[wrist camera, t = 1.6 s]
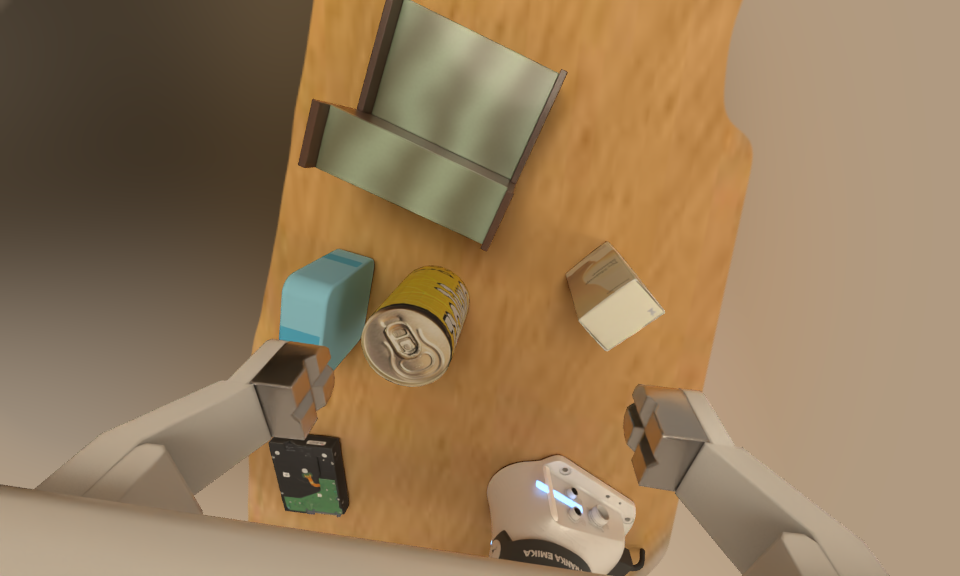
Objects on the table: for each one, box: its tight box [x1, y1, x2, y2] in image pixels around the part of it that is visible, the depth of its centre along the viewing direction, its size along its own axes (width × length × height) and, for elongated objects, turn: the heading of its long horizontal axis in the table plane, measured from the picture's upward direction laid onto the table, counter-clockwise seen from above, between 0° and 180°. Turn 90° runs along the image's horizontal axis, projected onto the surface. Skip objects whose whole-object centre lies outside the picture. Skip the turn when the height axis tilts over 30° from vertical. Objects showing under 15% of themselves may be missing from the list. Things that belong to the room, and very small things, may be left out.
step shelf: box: [298, 0, 568, 251], centre depth 32 cm, size 16×15×14 cm
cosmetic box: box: [566, 242, 665, 351], centre depth 37 cm, size 6×4×12 cm
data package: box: [279, 249, 374, 371], centre depth 41 cm, size 12×4×12 cm, turn 165°
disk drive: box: [269, 434, 349, 517], centre depth 58 cm, size 10×3×15 cm
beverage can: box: [361, 266, 469, 387], centre depth 40 cm, size 9×9×12 cm
